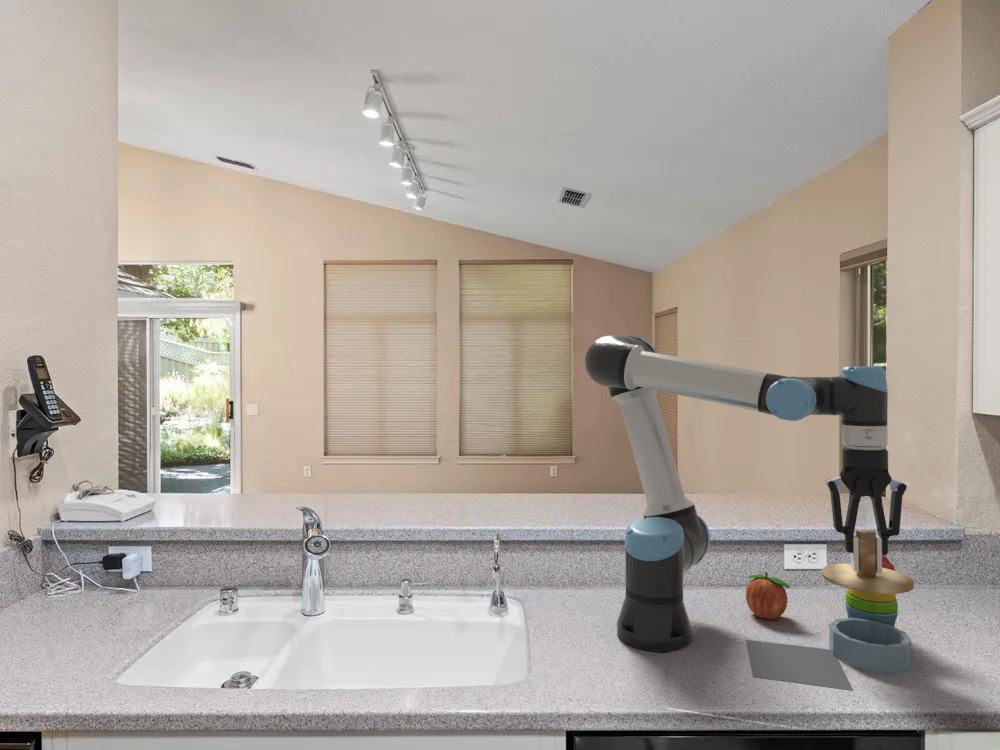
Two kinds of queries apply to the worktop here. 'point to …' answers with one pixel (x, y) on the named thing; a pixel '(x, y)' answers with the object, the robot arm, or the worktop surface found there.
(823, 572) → the lid
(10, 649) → the worktop surface
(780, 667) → the mat
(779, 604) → the fruit
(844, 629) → the bowl
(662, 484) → the robot arm
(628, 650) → the worktop surface
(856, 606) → the stacking bear
